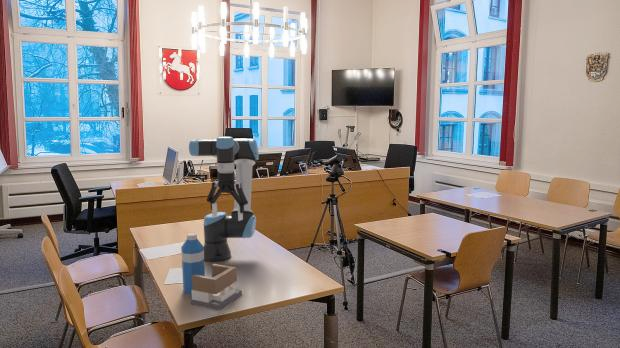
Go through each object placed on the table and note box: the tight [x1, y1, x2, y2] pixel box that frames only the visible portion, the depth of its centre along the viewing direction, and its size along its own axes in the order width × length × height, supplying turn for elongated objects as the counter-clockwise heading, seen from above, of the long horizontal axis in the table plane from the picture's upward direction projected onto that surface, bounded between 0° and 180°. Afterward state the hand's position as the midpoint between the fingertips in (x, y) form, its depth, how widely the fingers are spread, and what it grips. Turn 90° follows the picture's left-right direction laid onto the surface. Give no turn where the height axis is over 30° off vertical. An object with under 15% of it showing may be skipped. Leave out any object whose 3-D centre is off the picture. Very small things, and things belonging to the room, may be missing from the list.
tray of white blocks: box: [190, 284, 243, 311], centre depth 190 cm, size 14×16×10 cm
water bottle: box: [180, 232, 206, 296], centre depth 197 cm, size 9×9×25 cm
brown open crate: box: [192, 263, 238, 294], centre depth 188 cm, size 11×15×6 cm
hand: (227, 218), depth 206 cm, fingers open, 13 cm apart
